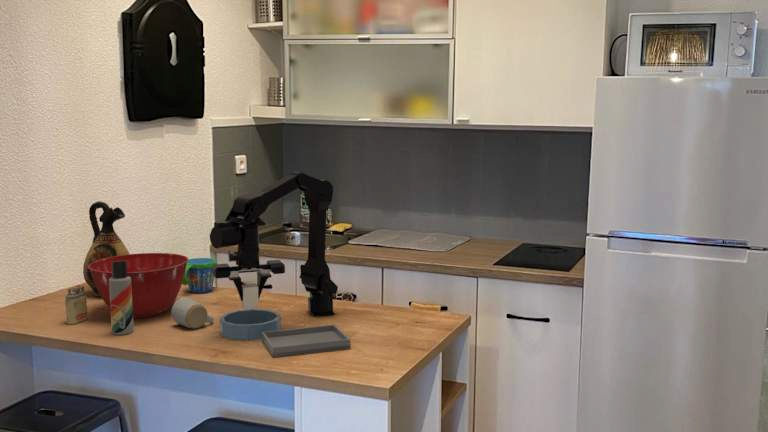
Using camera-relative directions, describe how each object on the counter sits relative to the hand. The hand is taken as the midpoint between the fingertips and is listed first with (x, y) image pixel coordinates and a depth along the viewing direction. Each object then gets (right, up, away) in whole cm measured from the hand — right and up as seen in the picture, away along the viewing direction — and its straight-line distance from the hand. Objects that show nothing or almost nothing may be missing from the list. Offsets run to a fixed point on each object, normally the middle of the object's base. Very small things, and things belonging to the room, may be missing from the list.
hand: (249, 299), depth 220 cm
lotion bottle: (-35, -9, +1) cm, 36 cm away
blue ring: (0, -9, +1) cm, 9 cm away
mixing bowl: (-36, -6, +21) cm, 42 cm away
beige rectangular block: (0, -2, 0) cm, 2 cm away
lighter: (-51, -8, +11) cm, 53 cm away
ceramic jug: (-53, -3, +43) cm, 69 cm away
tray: (+16, -11, -11) cm, 22 cm away
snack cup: (-24, -2, +46) cm, 52 cm away
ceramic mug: (-17, -8, +7) cm, 20 cm away
